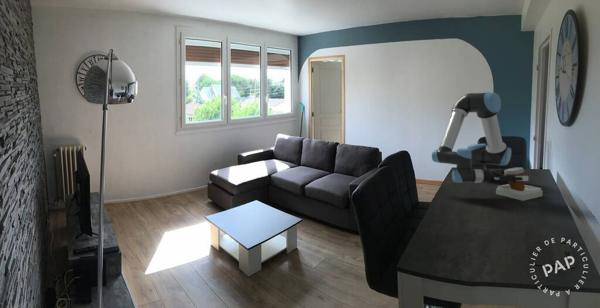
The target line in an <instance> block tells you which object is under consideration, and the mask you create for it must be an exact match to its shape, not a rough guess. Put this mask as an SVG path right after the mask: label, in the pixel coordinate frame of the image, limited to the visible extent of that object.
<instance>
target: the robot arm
mask: <svg viewBox="0 0 600 308" xmlns="http://www.w3.org/2000/svg"><path fill="white" fill-rule="evenodd" d="M501 108H502V99H501V97H500V95H499V94H498V93H497V92H489V91H487V92H474V93H473V92H469V93H466V94H464V95H463V96H461V97H460V98H459V99H458V100H457V101H456V102H455V103H454V104H453V106H452V109H451V111H450V113H451V116H450V119H449V121H448V123H447V126H446V129H445V132H444V134H443V138H442V140H441V142H440V145H439V147H438V149H435V150H433V151H432V153H431V160H432V161H433V163H438V164H447V165H454V166H455V165H456V169H453V170H452V172H451V179H452V182H454V183H457V184H458V183H459V184H460V183H461V184H466V183H470V184H472V183H473V184H478V183H480V184H481V183H485V184H486V183H491V181H492V180H493V181H495V182H508V183H509V182H514V183H516V181H524V182H529V175H524V176H507V175H506V174H505V173H504V172H505V170H504V168H502V169H497V170H490V169H487V167H486V164H487V165H494V166H495V165H496V166H507V165H508V164H509V162H510V161H511V158H512V148H510V147H507V144H506V143H505V142H503V139H502V133H501V129H500V124H499V120H498V117H497V115H498V114H499V112H500V110H501ZM470 113H476V116H477V118H479V119H480V121H481V123H482V124H481V125H482V128H483V131H484V136H485V140H486V143H476V144H475V143H473V144H469V145H468V146H467V148H457V149H456V151H453V149H454V148H455V144H456V141H457V139H458V136H459V134H460V131H461V128H462V126H463V123H464V121H465V118H467V117H468V115H469V114H470Z"/></svg>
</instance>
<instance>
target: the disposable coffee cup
mask: <svg viewBox="0 0 600 308" xmlns="http://www.w3.org/2000/svg"><path fill="white" fill-rule="evenodd" d="M504 171H505V172H504V173H505V174H506V175H507V176H525V174H524V172H525V169H524V168H523V167H511V168H506V169H505V170H504ZM508 184H509V185H510V187H511V189H514V190H518V191H523V190H525V186H524V185H525V181H516V183H514V182H508Z"/></svg>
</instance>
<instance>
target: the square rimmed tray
mask: <svg viewBox="0 0 600 308" xmlns="http://www.w3.org/2000/svg"><path fill="white" fill-rule="evenodd" d="M524 186H525V190H523V191H518V190H514V189H511V187H510V185H509V183H508V184H503V185H497V188H495V194H496V195H499V196H502V197H503V196H504V197H507V198H511V199H515V200H519V201H522V202H523V201H528V200H532V199H537V198H539V197H540V198H541V197H543V192H544V191H543V190H542V188H541V187H536V186H533V185H527V184H524Z"/></svg>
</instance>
